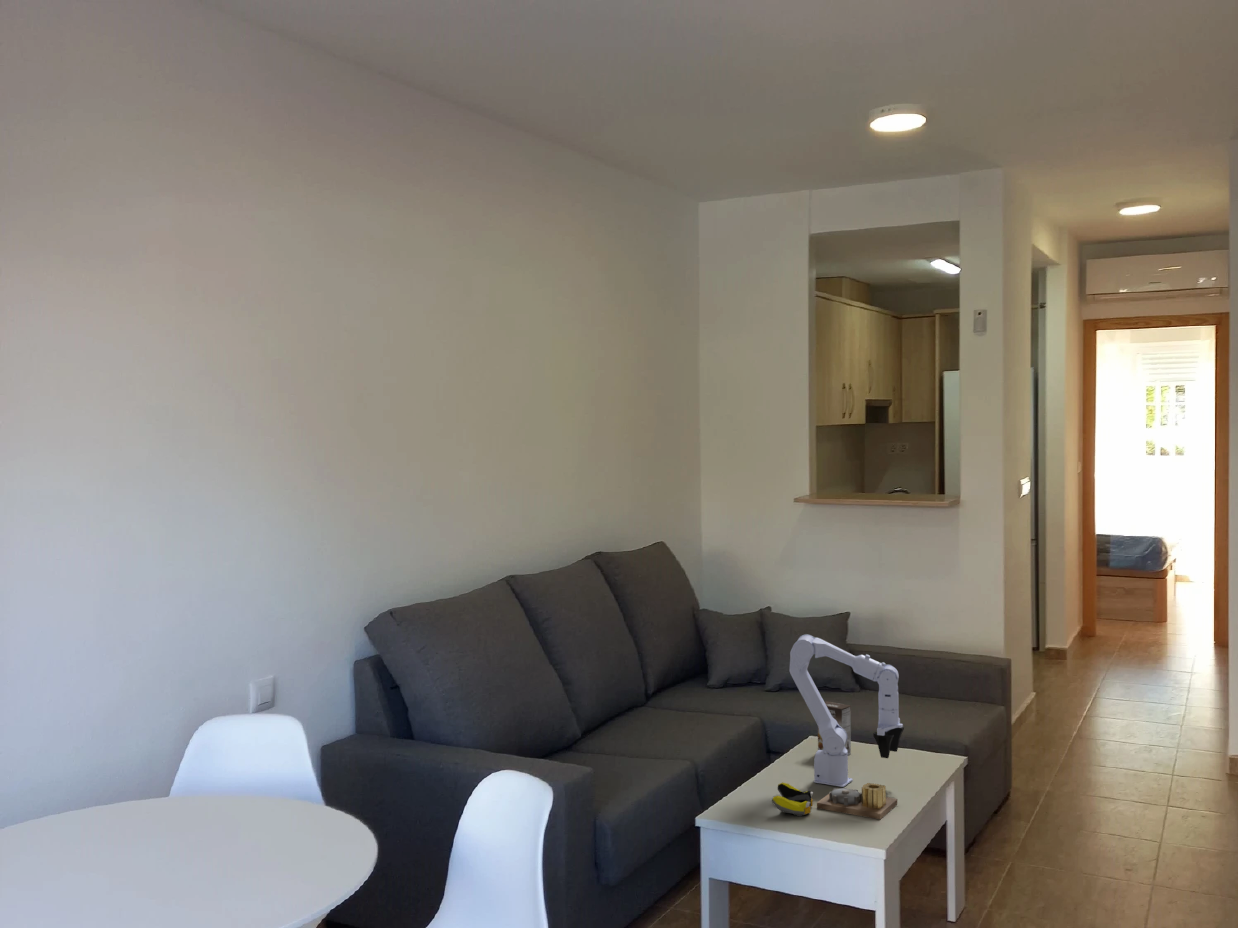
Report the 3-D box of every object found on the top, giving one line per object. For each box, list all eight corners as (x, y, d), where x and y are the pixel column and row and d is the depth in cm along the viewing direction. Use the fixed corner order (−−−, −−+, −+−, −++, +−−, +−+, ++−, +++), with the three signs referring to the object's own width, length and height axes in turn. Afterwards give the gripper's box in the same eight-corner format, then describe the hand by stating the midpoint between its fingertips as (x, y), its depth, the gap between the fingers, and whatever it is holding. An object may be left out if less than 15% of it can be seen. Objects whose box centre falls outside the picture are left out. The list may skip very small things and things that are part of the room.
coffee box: (816, 753, 350) (816, 704, 350) (827, 749, 355) (826, 700, 354) (841, 758, 344) (841, 708, 344) (852, 754, 349) (851, 704, 348)
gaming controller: (771, 817, 292) (809, 820, 289) (771, 797, 292) (808, 799, 289) (778, 799, 306) (814, 802, 303) (778, 780, 306) (814, 782, 303)
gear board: (817, 807, 298) (816, 793, 298) (835, 793, 310) (835, 779, 310) (880, 819, 289) (880, 803, 288) (897, 804, 300) (897, 789, 300)
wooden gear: (860, 805, 295) (860, 787, 295) (867, 800, 300) (867, 782, 299) (880, 809, 292) (880, 791, 292) (887, 803, 296) (887, 785, 296)
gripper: (893, 715, 307) (894, 762, 307) (909, 704, 319) (910, 749, 320) (869, 712, 311) (870, 758, 311) (886, 701, 323) (887, 746, 323)
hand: (889, 754), depth 316 cm, fingers open, 7 cm apart
